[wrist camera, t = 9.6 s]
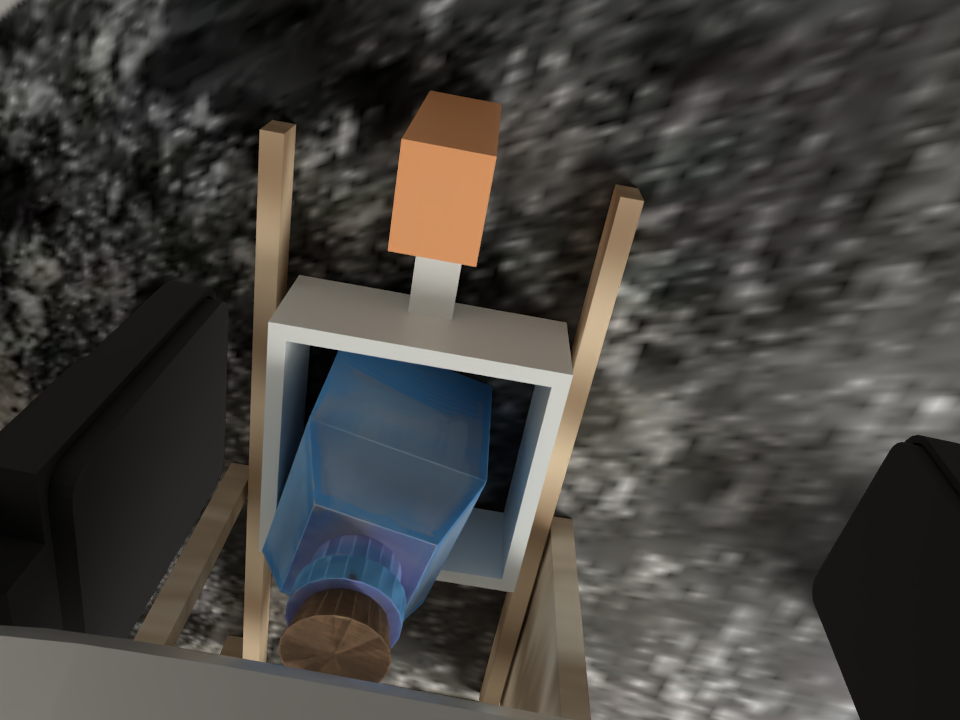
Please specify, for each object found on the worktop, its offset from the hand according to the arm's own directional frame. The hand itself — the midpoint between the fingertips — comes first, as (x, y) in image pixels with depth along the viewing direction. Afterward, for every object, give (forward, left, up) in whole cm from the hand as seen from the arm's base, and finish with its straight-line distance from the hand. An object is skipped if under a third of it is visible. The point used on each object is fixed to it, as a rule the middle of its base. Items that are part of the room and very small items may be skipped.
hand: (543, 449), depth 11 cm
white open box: (+7, -2, -17) cm, 19 cm away
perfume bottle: (+12, -3, -18) cm, 22 cm away
